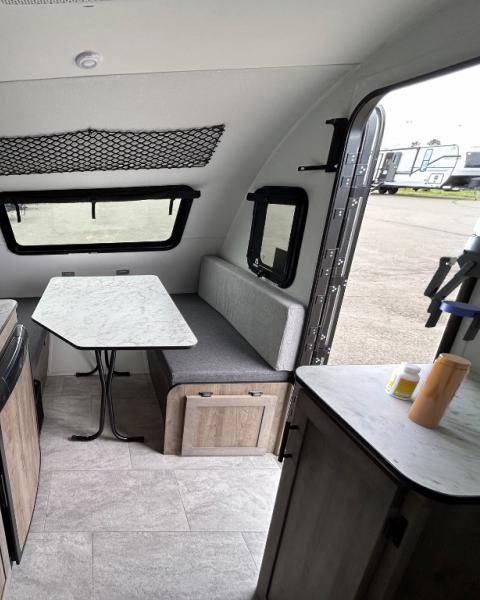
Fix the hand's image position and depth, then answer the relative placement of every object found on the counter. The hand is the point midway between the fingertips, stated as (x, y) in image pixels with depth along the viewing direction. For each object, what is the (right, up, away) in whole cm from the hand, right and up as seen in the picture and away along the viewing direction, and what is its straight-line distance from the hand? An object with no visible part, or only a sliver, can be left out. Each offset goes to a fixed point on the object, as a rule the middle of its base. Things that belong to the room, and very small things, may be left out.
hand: (448, 333), depth 77 cm
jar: (+1, -23, +6) cm, 24 cm away
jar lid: (0, +6, -2) cm, 7 cm away
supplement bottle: (+4, -20, +17) cm, 26 cm away
